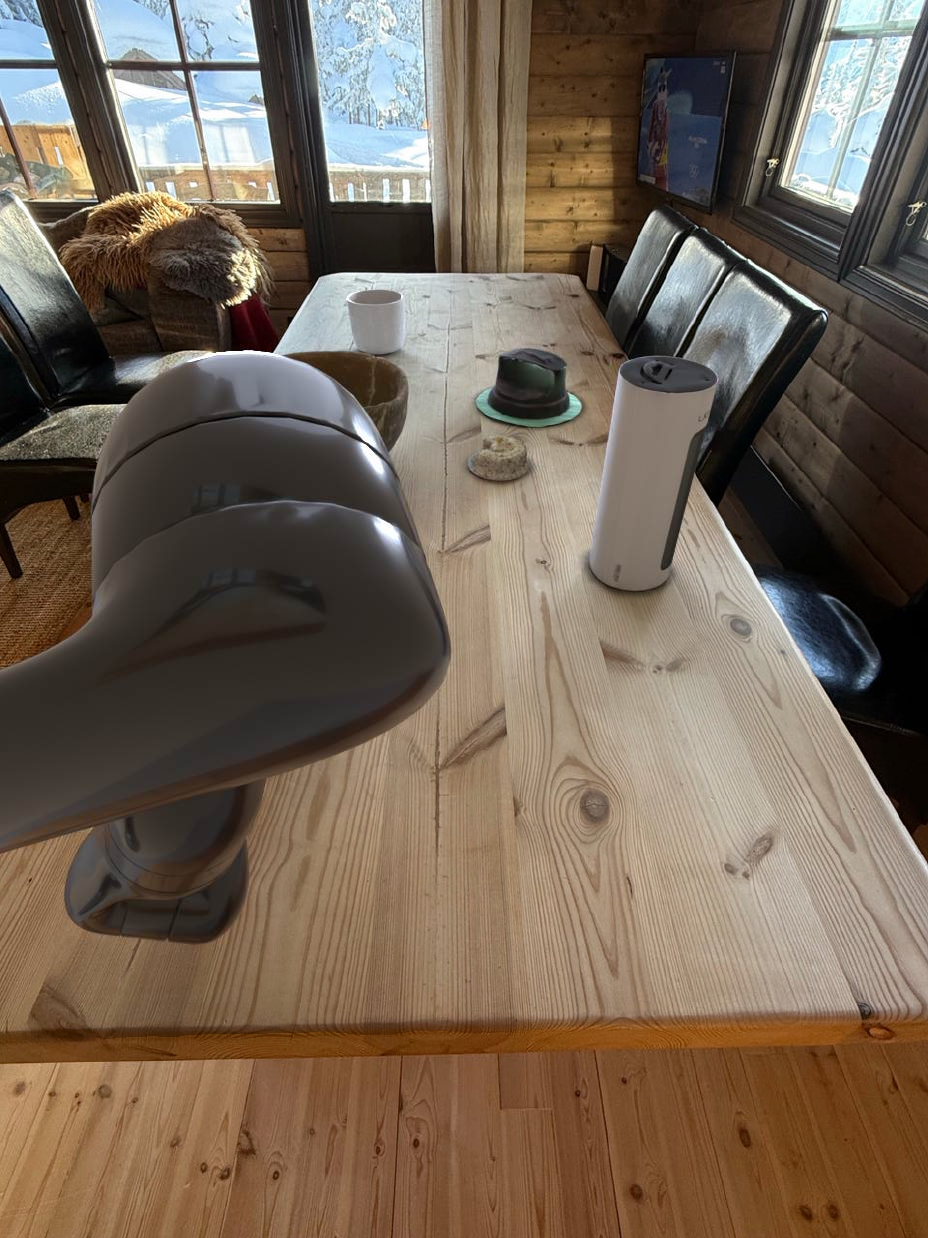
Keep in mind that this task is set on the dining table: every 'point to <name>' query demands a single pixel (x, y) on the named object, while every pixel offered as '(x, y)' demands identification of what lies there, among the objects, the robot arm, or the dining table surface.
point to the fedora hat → (530, 390)
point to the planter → (377, 320)
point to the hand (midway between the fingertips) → (253, 570)
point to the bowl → (367, 386)
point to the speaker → (649, 468)
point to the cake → (500, 459)
